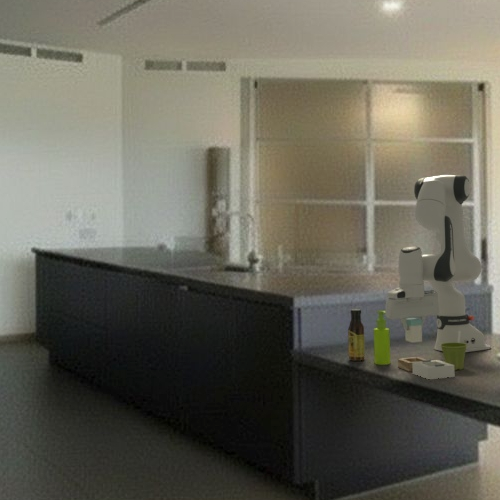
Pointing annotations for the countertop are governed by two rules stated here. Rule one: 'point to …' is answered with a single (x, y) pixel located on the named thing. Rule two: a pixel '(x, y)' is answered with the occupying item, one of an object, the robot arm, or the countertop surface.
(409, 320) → the plug
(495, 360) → the countertop surface
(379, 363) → the soap dispenser
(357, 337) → the sauce bottle
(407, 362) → the brown wooden square frame
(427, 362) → the port
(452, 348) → the plant pot
